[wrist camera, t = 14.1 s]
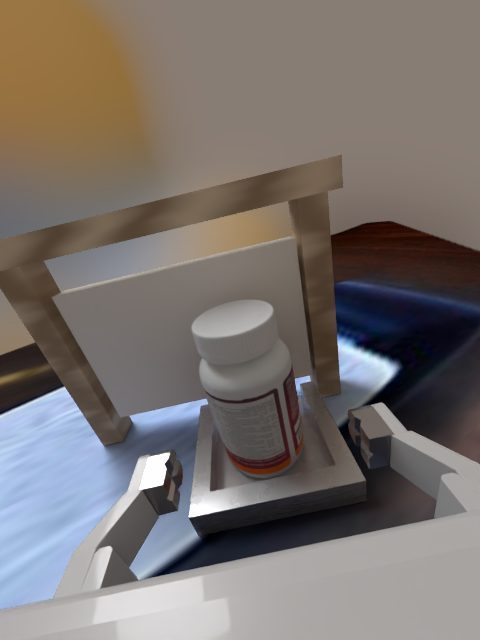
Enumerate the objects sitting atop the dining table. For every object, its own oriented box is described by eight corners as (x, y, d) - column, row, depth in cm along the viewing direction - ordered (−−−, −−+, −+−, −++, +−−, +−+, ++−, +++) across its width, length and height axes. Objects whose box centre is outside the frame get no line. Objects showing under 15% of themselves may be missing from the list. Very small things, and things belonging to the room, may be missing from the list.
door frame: (93, 447, 23) (-42, 249, 16) (104, 427, 26) (-10, 245, 18) (351, 390, 23) (341, 154, 15) (340, 375, 25) (326, 161, 17)
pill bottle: (267, 402, 23) (242, 290, 19) (322, 441, 18) (305, 304, 14) (213, 443, 20) (167, 324, 16) (261, 503, 16) (214, 356, 11)
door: (120, 417, 23) (51, 297, 18) (132, 394, 26) (75, 285, 21) (312, 374, 22) (295, 238, 17) (301, 355, 25) (284, 234, 20)
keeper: (198, 536, 15) (188, 517, 14) (206, 421, 23) (200, 406, 22) (366, 501, 15) (366, 480, 14) (314, 397, 23) (312, 380, 22)
